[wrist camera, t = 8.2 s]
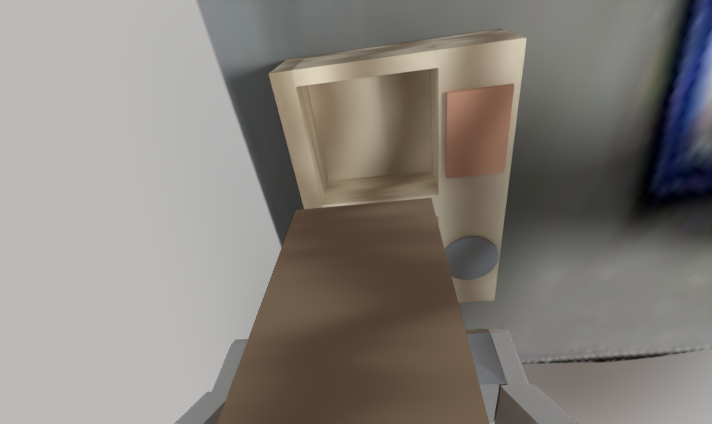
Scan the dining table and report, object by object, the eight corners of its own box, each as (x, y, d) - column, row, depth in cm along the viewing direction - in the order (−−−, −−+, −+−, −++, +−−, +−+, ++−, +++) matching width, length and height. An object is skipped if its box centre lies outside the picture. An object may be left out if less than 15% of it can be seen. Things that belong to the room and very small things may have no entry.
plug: (431, 197, 12) (600, 855, 3) (433, 295, 15) (524, 796, 6) (295, 209, 13) (82, 789, 4) (321, 301, 15) (238, 763, 6)
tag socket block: (500, 28, 24) (528, 38, 19) (480, 264, 36) (495, 303, 31) (286, 59, 25) (267, 74, 21) (335, 273, 37) (330, 311, 33)
